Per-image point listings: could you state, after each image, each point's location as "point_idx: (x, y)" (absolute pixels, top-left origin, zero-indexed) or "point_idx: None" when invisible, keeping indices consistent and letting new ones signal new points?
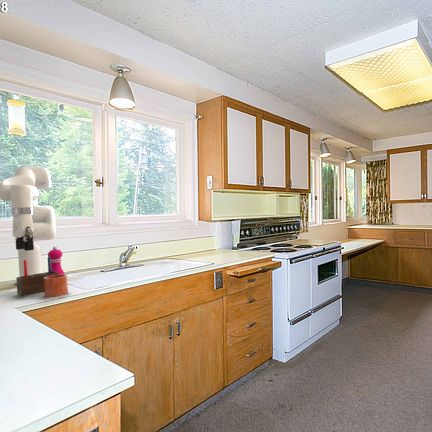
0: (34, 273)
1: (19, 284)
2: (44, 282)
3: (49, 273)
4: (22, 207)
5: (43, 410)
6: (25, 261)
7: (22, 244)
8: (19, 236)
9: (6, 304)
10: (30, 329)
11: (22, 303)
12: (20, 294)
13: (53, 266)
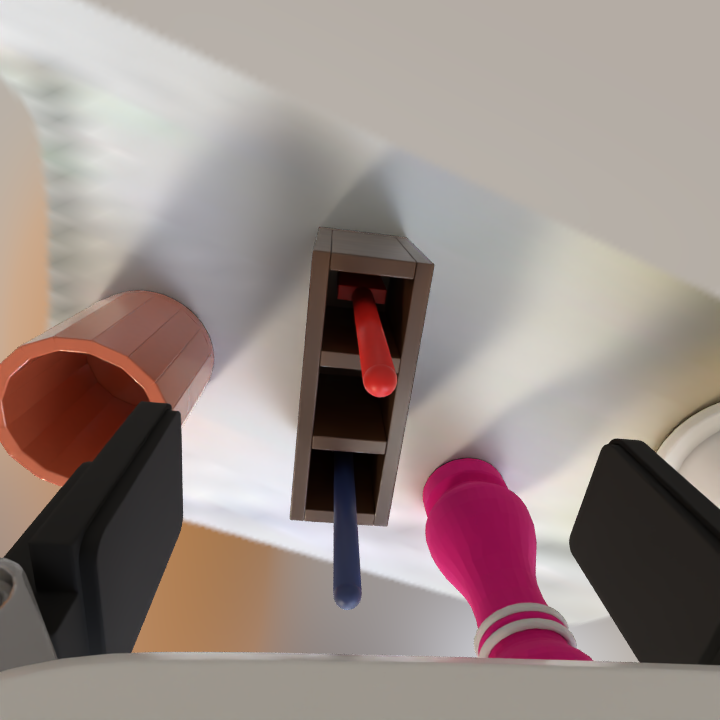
0: (718, 507)
1: (357, 245)
2: (100, 326)
3: (307, 465)
4: None
5: None
6: (362, 375)
7: (626, 588)
8: (38, 684)
9: (240, 87)
10: None
11: (157, 155)
12: (345, 232)
13: (491, 581)
